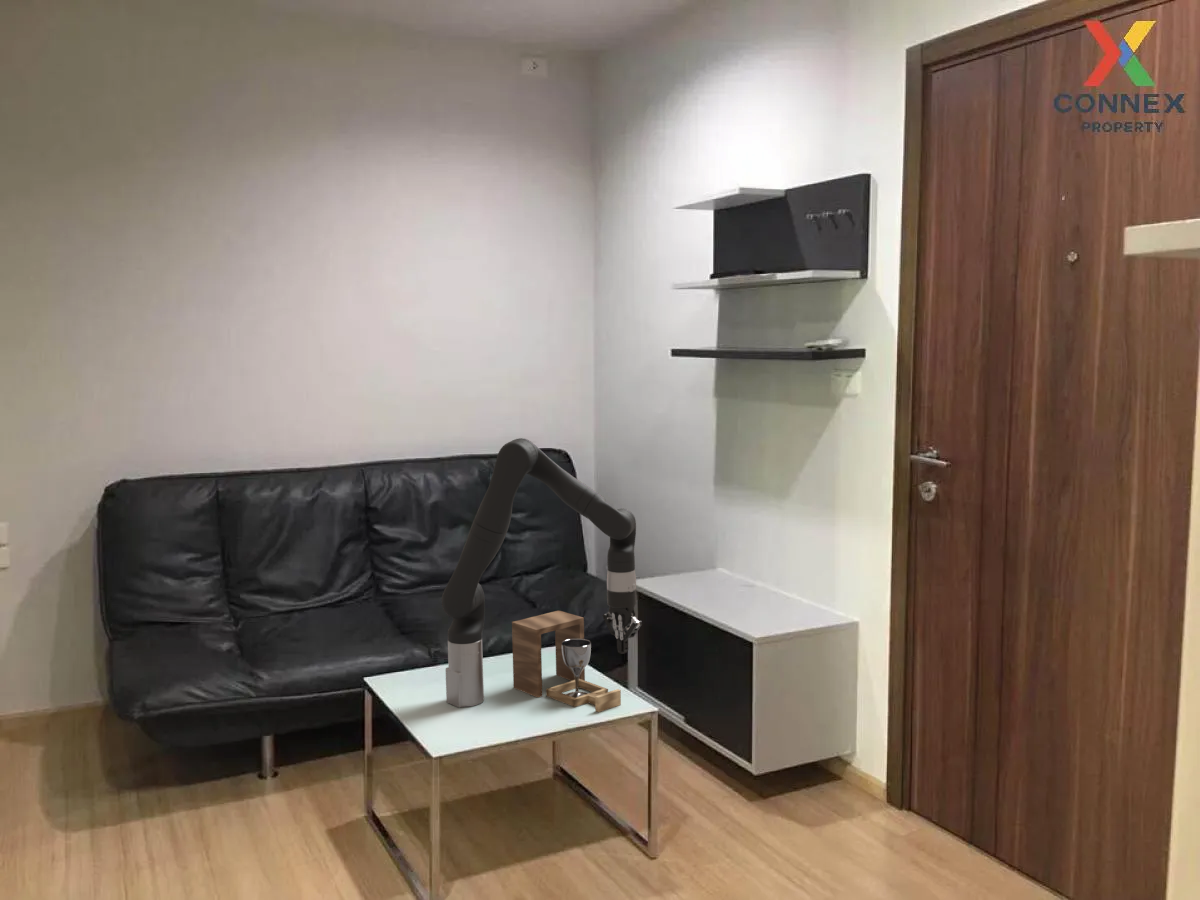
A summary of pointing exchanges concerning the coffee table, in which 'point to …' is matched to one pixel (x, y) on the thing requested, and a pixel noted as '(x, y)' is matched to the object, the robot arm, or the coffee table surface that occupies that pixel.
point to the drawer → (597, 697)
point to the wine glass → (576, 659)
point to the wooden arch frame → (529, 648)
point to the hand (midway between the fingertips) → (622, 652)
